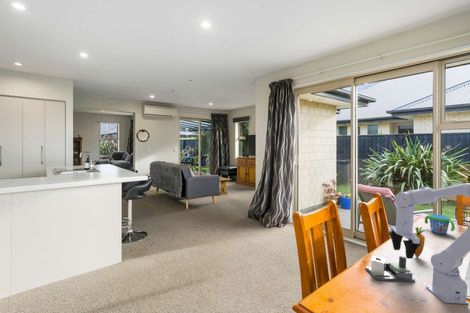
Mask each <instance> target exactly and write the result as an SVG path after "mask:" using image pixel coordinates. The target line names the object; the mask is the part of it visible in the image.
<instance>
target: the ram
mask: <svg viewBox="0 0 470 313" xmlns="http://www.w3.org/2000/svg"><path fill="white" fill-rule="evenodd" d="M398 258H399V259H398V262H389V263H390V266H389V267H390V268H391V269H392V270H393V271H394V272H411V270H410V269H409V268H407V258H406V256H401V255H400V256H398Z"/></svg>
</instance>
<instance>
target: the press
mask: <svg viewBox="0 0 470 313" xmlns="http://www.w3.org/2000/svg"><path fill="white" fill-rule="evenodd" d="M390 263H391V262H387V261H386V262H385V272H384V275H381V274H378V273H374V272H371V266H365V267H364V269H365V270H366V271H367V272H368V273H369V275H370V276H371V277H372V278H373V279H374V280H375V281H380V282H383V281H384V282H404V283H416V279H415V278H414V277H413V272H411V271H410V272H394V271H393V270H392V269H391V268H390V267H389V266H390Z"/></svg>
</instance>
